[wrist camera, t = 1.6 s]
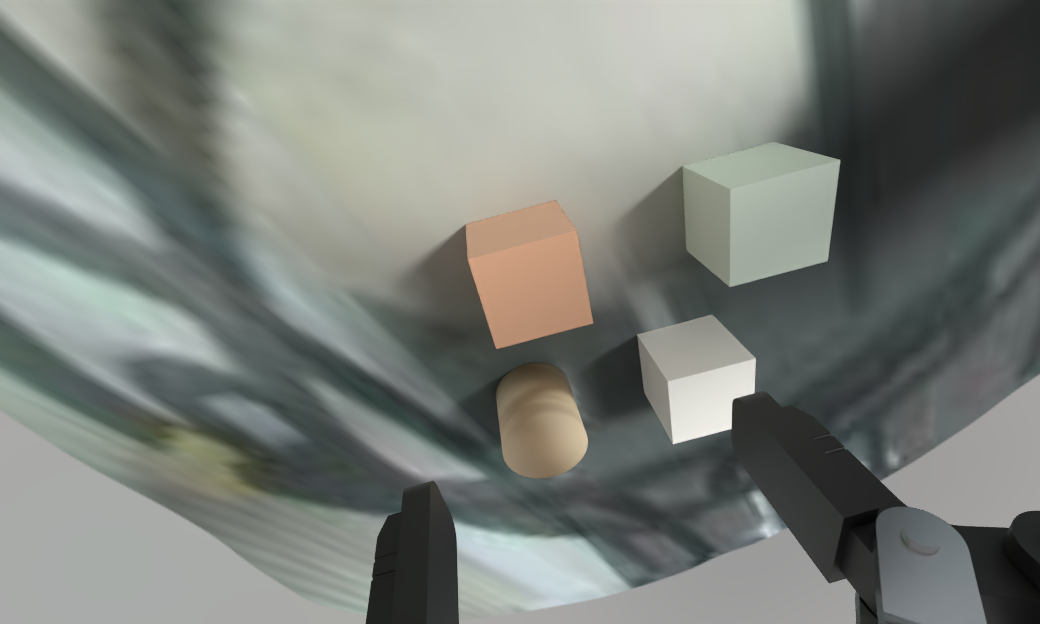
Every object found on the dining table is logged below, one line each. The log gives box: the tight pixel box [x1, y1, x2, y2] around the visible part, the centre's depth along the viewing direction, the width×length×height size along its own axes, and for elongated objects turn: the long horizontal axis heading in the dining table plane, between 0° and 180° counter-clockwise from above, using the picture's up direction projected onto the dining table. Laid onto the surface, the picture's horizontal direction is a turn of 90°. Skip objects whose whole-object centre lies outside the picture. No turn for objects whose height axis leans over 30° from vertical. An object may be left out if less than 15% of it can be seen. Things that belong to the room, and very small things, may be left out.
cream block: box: [637, 315, 756, 444], centre depth 29 cm, size 5×5×5 cm
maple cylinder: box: [496, 363, 588, 478], centre depth 29 cm, size 5×5×5 cm
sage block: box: [682, 142, 840, 287], centre depth 24 cm, size 5×5×5 cm
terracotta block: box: [466, 200, 593, 349], centre depth 24 cm, size 5×5×5 cm
